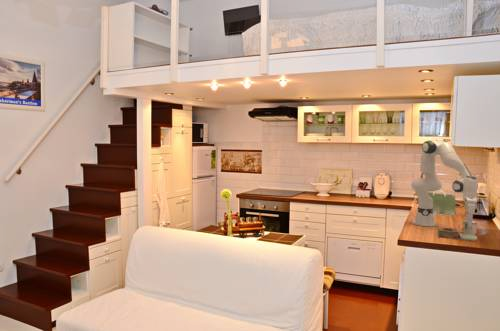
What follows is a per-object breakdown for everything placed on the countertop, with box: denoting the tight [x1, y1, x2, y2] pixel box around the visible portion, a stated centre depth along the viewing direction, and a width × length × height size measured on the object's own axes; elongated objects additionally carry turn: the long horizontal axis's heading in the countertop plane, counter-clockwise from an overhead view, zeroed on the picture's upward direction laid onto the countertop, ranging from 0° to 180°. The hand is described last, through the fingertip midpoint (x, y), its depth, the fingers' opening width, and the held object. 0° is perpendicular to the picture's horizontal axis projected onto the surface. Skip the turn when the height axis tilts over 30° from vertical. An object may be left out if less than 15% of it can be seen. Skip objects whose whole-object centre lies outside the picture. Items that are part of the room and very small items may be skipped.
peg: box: [464, 212, 474, 229], centre depth 277 cm, size 4×4×11 cm
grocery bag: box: [428, 189, 457, 216], centre depth 374 cm, size 32×14×23 cm, turn 72°
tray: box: [458, 232, 478, 242], centre depth 278 cm, size 12×10×2 cm
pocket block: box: [437, 226, 459, 240], centre depth 282 cm, size 12×12×5 cm
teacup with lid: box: [458, 219, 477, 236], centre depth 293 cm, size 12×9×12 cm
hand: (468, 217), depth 277 cm, fingers closed on peg, 4 cm apart
